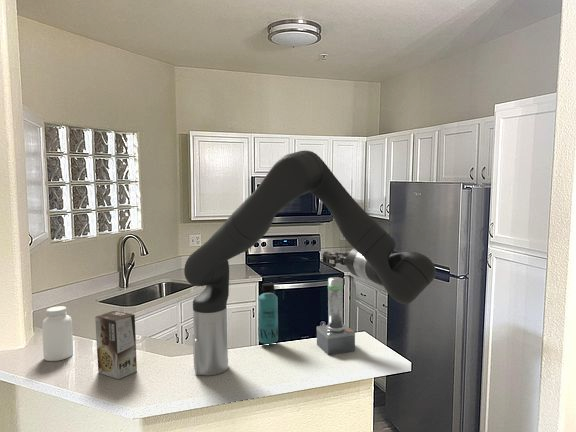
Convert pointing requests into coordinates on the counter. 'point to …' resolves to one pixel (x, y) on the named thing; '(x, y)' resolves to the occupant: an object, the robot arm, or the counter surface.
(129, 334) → the coffee box
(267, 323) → the beverage bottle
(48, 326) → the pill bottle
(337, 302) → the clear glass cylinder
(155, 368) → the counter surface
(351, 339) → the stand block
